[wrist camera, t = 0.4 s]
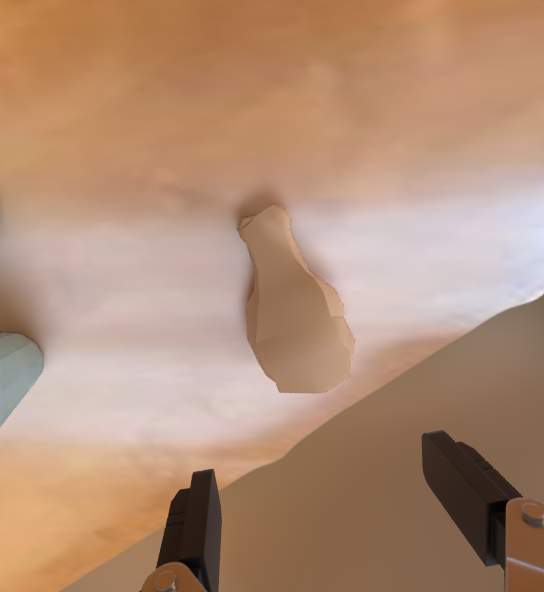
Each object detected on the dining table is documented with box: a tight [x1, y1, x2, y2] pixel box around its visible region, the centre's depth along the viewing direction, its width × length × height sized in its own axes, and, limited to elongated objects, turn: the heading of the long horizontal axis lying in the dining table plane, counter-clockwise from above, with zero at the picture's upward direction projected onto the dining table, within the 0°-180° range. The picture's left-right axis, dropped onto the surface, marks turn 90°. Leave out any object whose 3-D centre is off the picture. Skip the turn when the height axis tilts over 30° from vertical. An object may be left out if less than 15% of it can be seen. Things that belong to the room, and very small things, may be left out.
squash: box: [237, 205, 355, 393], centre depth 38 cm, size 11×20×9 cm, turn 21°
